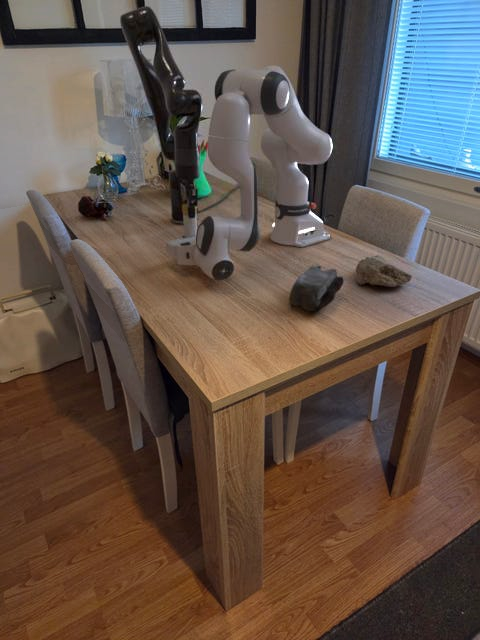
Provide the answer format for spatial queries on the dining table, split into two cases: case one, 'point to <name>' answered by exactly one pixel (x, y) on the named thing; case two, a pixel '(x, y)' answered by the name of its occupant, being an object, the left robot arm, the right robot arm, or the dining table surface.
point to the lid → (185, 208)
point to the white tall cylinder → (189, 226)
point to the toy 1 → (95, 207)
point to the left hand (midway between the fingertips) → (189, 215)
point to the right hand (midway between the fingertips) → (189, 236)
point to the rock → (315, 288)
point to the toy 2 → (201, 173)
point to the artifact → (380, 273)
